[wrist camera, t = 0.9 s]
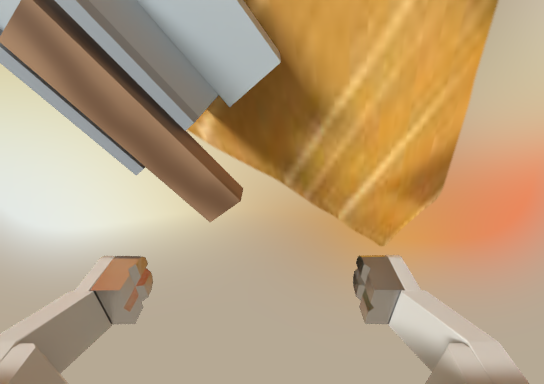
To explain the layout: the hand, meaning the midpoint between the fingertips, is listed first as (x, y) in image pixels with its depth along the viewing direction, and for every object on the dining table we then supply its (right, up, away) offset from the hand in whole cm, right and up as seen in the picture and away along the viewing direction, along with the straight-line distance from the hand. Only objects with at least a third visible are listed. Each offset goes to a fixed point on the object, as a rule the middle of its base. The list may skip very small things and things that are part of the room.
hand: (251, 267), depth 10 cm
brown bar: (-11, +9, +15) cm, 21 cm away
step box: (-10, +29, +34) cm, 46 cm away
